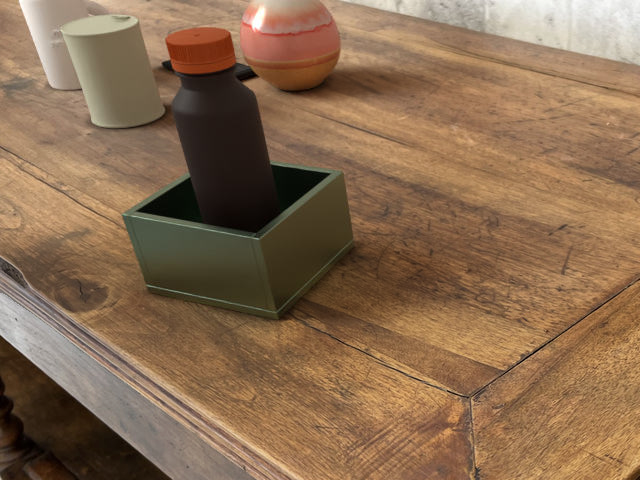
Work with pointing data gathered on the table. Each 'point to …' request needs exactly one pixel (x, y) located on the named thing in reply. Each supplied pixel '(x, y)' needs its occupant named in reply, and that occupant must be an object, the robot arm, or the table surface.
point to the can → (114, 70)
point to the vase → (290, 42)
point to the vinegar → (221, 132)
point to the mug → (57, 35)
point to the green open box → (244, 243)
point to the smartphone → (240, 72)
